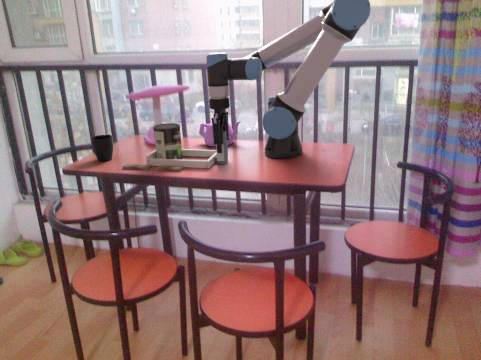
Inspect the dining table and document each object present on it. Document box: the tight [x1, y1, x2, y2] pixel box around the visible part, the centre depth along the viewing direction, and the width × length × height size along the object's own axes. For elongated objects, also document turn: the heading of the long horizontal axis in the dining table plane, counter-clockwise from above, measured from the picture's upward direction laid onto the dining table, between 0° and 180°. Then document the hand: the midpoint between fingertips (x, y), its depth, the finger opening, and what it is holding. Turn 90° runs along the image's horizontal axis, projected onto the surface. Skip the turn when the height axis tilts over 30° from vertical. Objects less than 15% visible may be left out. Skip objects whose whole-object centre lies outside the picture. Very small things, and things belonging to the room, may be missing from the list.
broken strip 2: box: [157, 165, 185, 172], centre depth 156 cm, size 9×3×1 cm, turn 75°
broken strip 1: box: [122, 163, 154, 171], centre depth 159 cm, size 11×3×1 cm, turn 75°
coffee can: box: [152, 122, 184, 160], centre depth 164 cm, size 10×10×14 cm
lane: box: [145, 131, 229, 169], centre depth 162 cm, size 30×15×12 cm, turn 75°
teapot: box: [198, 121, 241, 148], centre depth 186 cm, size 13×20×11 cm
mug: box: [90, 133, 114, 163], centre depth 172 cm, size 8×12×10 cm
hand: (222, 158), depth 161 cm, fingers closed on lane, 4 cm apart
